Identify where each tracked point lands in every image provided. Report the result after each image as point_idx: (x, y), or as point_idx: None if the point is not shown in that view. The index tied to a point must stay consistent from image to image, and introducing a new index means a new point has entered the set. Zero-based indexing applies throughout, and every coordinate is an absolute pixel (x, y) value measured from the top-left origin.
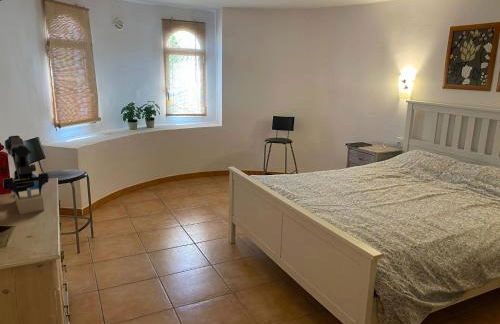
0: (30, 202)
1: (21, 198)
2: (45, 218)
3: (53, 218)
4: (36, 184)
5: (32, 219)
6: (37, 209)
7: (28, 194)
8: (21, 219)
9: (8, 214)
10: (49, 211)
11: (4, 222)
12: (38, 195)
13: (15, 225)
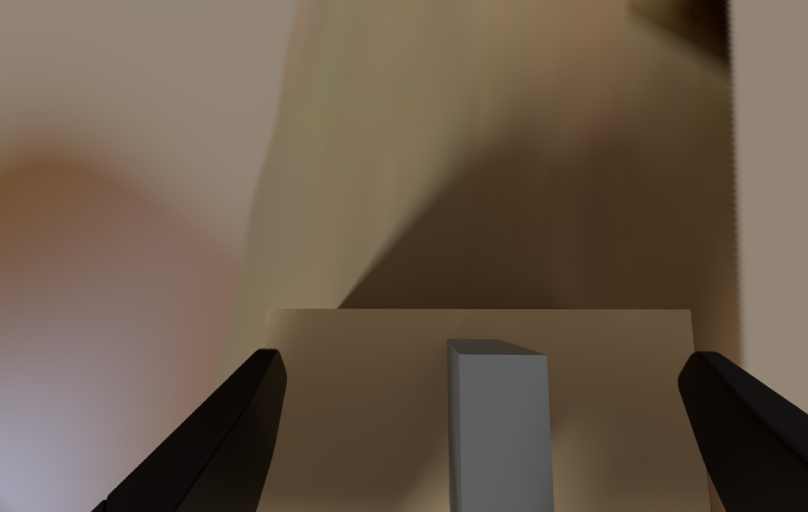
0: None
1: (626, 422)
2: (369, 61)
3: (308, 22)
4: None
5: (479, 101)
6: None
7: (510, 343)
8: (575, 161)
9: None
10: (296, 241)
11: (736, 169)
12: (314, 424)
13: (635, 29)
